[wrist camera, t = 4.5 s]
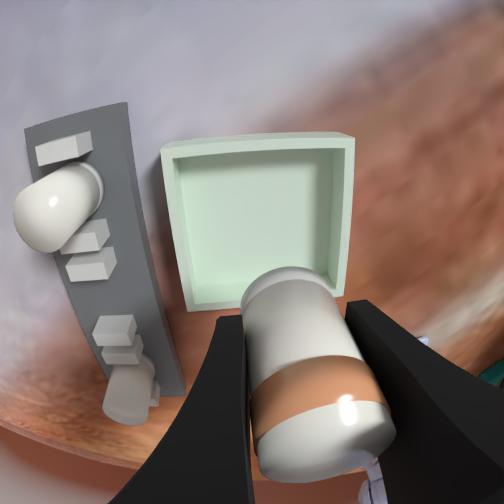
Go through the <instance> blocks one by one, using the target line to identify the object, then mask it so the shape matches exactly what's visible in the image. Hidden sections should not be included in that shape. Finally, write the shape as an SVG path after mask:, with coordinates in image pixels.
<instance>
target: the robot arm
mask: <svg viewBox="0 0 504 504" xmlns="http://www.w3.org/2000/svg"><path fill="white" fill-rule="evenodd" d="M345 321H346V323H347V325H348V327H349V329H350V331H351V333H352V335H353V337H354V339H355V342H356V344H357V346H358V348H359V350H360V352H361V354H362V356H363V358H364V360H365V362H366V364H368V365H369V366H370V368H371V369H372V371H373V373H374V375H375V377H376V380H377V382H378V384H379V386H380V388H381V390H382V392H383V394H384V397H385V399H386V401H387V403H388V405H389V407H390V410H391V419H392V421H393V423H394V426H395V428H396V437H395V439H394V441H393V442H392V444H391V445H390V446H389V447H388V448H387V449H386V450H385V451H384V452H383V453H381V454H380V455H379V456H377V457H376V458H375V459H373V460H371V461H370V462H368V463H366V464H365V465H363V466H362V468H363V469H365V470H366V471H367V474H368V477H369V479H368V480H365V481H364V482H363V484H362V487H361V489H360V491H359V504H504V390H503V389H500V388H498V387H496V386H494V385H492V384H490V383H487V382H485V381H483V380H481V379H479V378H478V377H476V376H474V375H472V374H470V373H469V372H467V371H465V370H463V369H462V368H460V367H458V366H456V365H455V364H453V363H452V362H450V361H448V360H447V359H445V358H444V357H443V356H441V355H440V354H438V353H437V352H435V351H434V350H432V349H431V348H429V347H428V346H427V345H428V342H429V339H428V338H427V337H426V336H425V337H420V338H416V337H414V336H413V335H412V334H410V333H409V332H408V331H406V330H405V329H404V328H403V327H401V326H400V325H399V324H397V323H396V322H395V321H394V320H392V319H391V318H390V317H388V316H387V315H386V314H385V313H383V312H382V311H381V310H380V309H378V308H377V307H376V306H374V305H373V304H372V303H370V302H369V301H368V300H359V301H352V302H347V307H346V314H345ZM249 401H250V389H249V380H248V371H247V359H246V349H245V338H244V328H243V319H242V314H241V315H230V316H220V317H219V318H218V319H217V321H216V326H215V330H214V334H213V337H212V340H211V343H210V346H209V349H208V352H207V354H206V357H205V359H204V362H203V364H202V366H201V369H200V371H199V374H198V376H197V378H196V380H195V382H194V384H193V386H192V388H191V390H190V392H189V394H188V396H187V398H186V400H185V402H184V404H183V406H182V407H181V409H180V411H179V413H178V414H177V416H176V418H175V419H174V421H173V423H172V424H171V426H170V427H169V429H168V431H167V432H166V434H165V435H164V437H163V438H162V439H161V441H160V442H159V444H158V445H157V447H156V448H155V449H154V451H153V452H152V454H151V455H150V456H149V458H148V459H147V460H146V462H145V463H144V464H143V465H142V467H141V468H140V469H139V470H138V471H137V472H136V474H135V475H134V476H133V477H132V478H131V479H130V481H129V482H128V483H127V484H126V485H125V486H124V488H122V490H121V491H120V492H119V493H118V494H117V495H116V496H115V497H114V498H113V499H112V500H111V501H110V502H109V503H108V504H255V499H254V491H253V484H252V474H251V459H250V410H249Z"/></svg>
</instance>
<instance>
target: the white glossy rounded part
mask: <svg viewBox="0 0 504 504" xmlns="http://www.w3.org/2000/svg"><path fill="white" fill-rule="evenodd" d="M104 195H105V185H104V180H103V178H102V176H101V174H100V172H99V171H98V170H97V168H96V167H94V166H93V165H92V164H90V163H88V162H86V161H79V160H78V161H73V162H70V163H68V164H66V165H64V166H62V167H61V168H60V169H58V170H56V171H54V172H52V173H51V174H49V175H47V176H45V177H44V178H42V179H40V180H38V181H37V182H35V183H33V184H32V185H30V186H28V187H27V188H25V189H24V190H22V191H21V192H20V193H19V195H18V196H17V198H16V200H15V203H14V207H13V219H14V224H15V227H16V230H17V232H18V234H19V235H20V237H21V238H22V240H23V241H24V242H25V243H26V244H27V245H28V246H29V247H31V248H32V249H34V250H36V251H39V252H42V253H51V252H54V251H57V250H58V249H60V248H61V247H62V246H63V245H64V244H65V243H66V241H67V240H68V239H69V238H70V237H71V236H72V235H73V234H74V232H75V231H76V230H77V229H78V228H79V227H80V226H81V225H82V224H83V223H84V222H85V221H86V220H87V218H88V217H89V216H90V215H92V214H93V213H94V212H95V211H96V210H97V209H98V208H99V206H100V205H101V203H102V201H103V199H104Z"/></svg>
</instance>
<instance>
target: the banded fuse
mask: <svg viewBox="0 0 504 504" xmlns="http://www.w3.org/2000/svg"><path fill="white" fill-rule="evenodd" d="M241 314H242V319H243V328H244V338H245V349H246V359H247V371H248V380H249V388H250V397H251V398H250V401H249V410H250V419H251V427H252V435H253V444H254V451H255V454H256V456H257V457H258V461H259V468H260V472H261V474H262V475H263V476H264V477H266V478H268V479H271V480H274V481H278V482H285V483H304V482H312V481H318V480H324V479H328V478H332V477H335V476H338V475H342V474H344V473H347V472H350V471H352V470H354V469H357V468H359V467H361V466H363V465H365V464H366V463H368V462H370V461H371V460H373V459H375V458H376V457H377V456H379V455H380V454H381V453H383V452H384V451H385V450H386V449H387V448H388V447H389V446H390V445H391V444H392V442H393V441H394V439H395V437H396V428H395V426H394V423H393V421H392V419H391V410H390V407H389V405H388V403H387V401H386V399H385V397H384V394H383V392H382V390H381V388H380V386H379V384H378V382H377V380H376V377H375V375H374V373H373V371H372V369H371V368H370V366H369V365H368V364H366V362H365V360H364V358H363V356H362V354H361V352H360V350H359V348H358V346H357V344H356V342H355V339H354V337H353V335H352V333H351V331H350V329H349V327H348V325H347V323H346V321H345V319H344V317H343V315H342V313H341V311H340V309H339V307H338V305H337V303H336V301H335V298H334V296H333V294H332V292H331V290H330V288H329V287H328V285H327V283H326V281H325V280H324V279H323V278H322V277H321V276H320V275H319V274H317V273H316V272H314V271H312V270H310V269H307V268H303V267H297V266H287V267H280V268H276V269H273V270H270V271H268V272H266V273H264V274H262V275H261V276H259V277H258V278H256V279H255V280H254V281H253V282H252V283H251V284H250V285H249V286H248V288H247V289H246V290H245V292H244V294H243V296H242V299H241V303H240V315H241Z"/></svg>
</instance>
